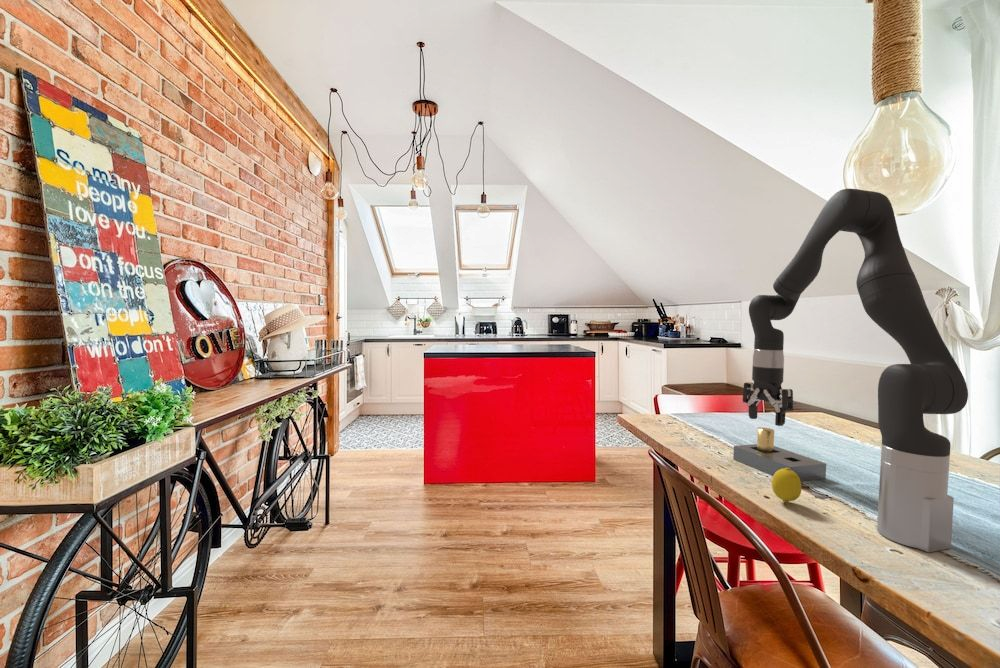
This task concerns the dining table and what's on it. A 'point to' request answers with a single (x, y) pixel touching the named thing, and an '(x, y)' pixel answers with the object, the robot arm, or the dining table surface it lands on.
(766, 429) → the gold metal block
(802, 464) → the plate
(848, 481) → the dining table surface
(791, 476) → the lemon
